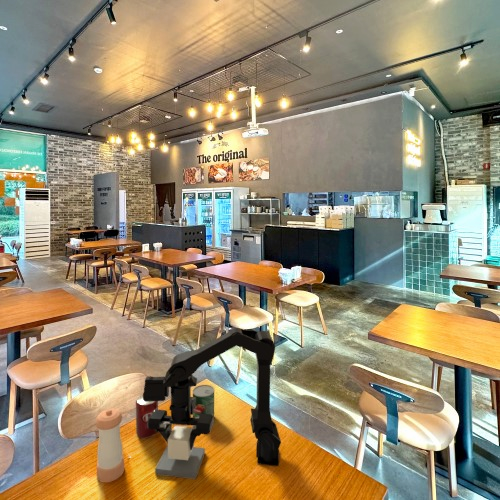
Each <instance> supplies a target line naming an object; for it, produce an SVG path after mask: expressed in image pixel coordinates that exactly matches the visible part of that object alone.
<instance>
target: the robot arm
mask: <svg viewBox="0 0 500 500" xmlns="http://www.w3.org/2000/svg"><path fill="white" fill-rule="evenodd" d="M234 347H239V348H243V349H244V350H247V351H248V352H250V353H253V354H255V359H256V404H255V405H256V406H255V408H250V413H251V416H250V425H251V431H252V434H254V437H255V439H257V440H256V450H255V451H256V452H255V453H256V455H255V457H256V458H257V461H256V463H257V465H262V466H263V465H264V466H272V467H279V465H280V447H281V444H282V442H281V437H280V434H279V431H278V426H277V424H276V422H274V421H273V420H272V419H273V418H272V414H271V407H270V406H271V405H270V404H271V365H272V363H273V360H274V355H275V351H276V344H275V342H274V340H273V338H272V336H271V334H270V332H268V331H266V330H259V331H257V330H254V329H244V328H239V327H234V328H232V329H231V330H229V331H228V332H226V333H224V334H221V336H218V337H217V338H215V339H213V340H211V341H210V342H208V343H205V345H202V346H201V347H199V348H196V349H194V350H187V351H183V352H181V353H178V354H176V355H175V356H173V358H172V360H171V363H170V367H169V368H168V370H167V371H166V372H165V376H150V375H149V376H146V377H145V380H144V387H143V393H142V395H143V401H144V402H150V401H158V402H164V401H166V398H168V397H169V395H170V405H169V408H168V409H169V411H170V415H168V411H167V410H166V409H158V410H157V409H155V410H154V411H153V413H152V414H151V416H150V417H149V419H148V422H147V428H148V429H154V430H156V431H157V433H159V434H160V435H161V436H162V438H163V439H164V441H165V442H166V444H167V445H168V438H169V436H170V434H171V432H172V430H173V427H172V425H174V426H183V427H188V426H192V428H193V429H192V431H191V433H190V450H192V448H193V445H194V446H195V441H196V440H197V439H196V438H197V437H200V436H201V435H209V434H210V433H211V432H212V428H213V425H214V422H215V416H214V417H213V415H212V414H202V413H201V414H200V416H199V417H196V418H193V413H194V409H195V406H196V397H193V396H191V390H192V389H191V387H197V386H198V385H197V384H198V383H197V382H198V378H197V377H195V376H194V375H193V374H194V373H196V371H198V370H199V368H200V367H202V365H204V364H206V363H208V362H209V361H212V360H213V359H215V358H216V357H218V356H220V355H222V354H224V353H226V352H228V351H229V350H231V349H233V348H234Z"/></svg>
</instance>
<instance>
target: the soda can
mask: <svg viewBox="0 0 500 500" xmlns="http://www.w3.org/2000/svg"><path fill="white" fill-rule="evenodd" d="M155 409H157V410H159V401H150V402H144V401H143V394H142V395H140V396H139V397H137V398H136V400H135V426H136V428H135V429H136V430H135V432H136V435H137V437H139V438H141V439H149V438H151V437H154V436H155V435H156V434H157V433H158V432H157V431H156V430H154V429H148V428H147V422H148V419H149V417H150V416H151V414H152V413H153V411H154V410H155Z"/></svg>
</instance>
